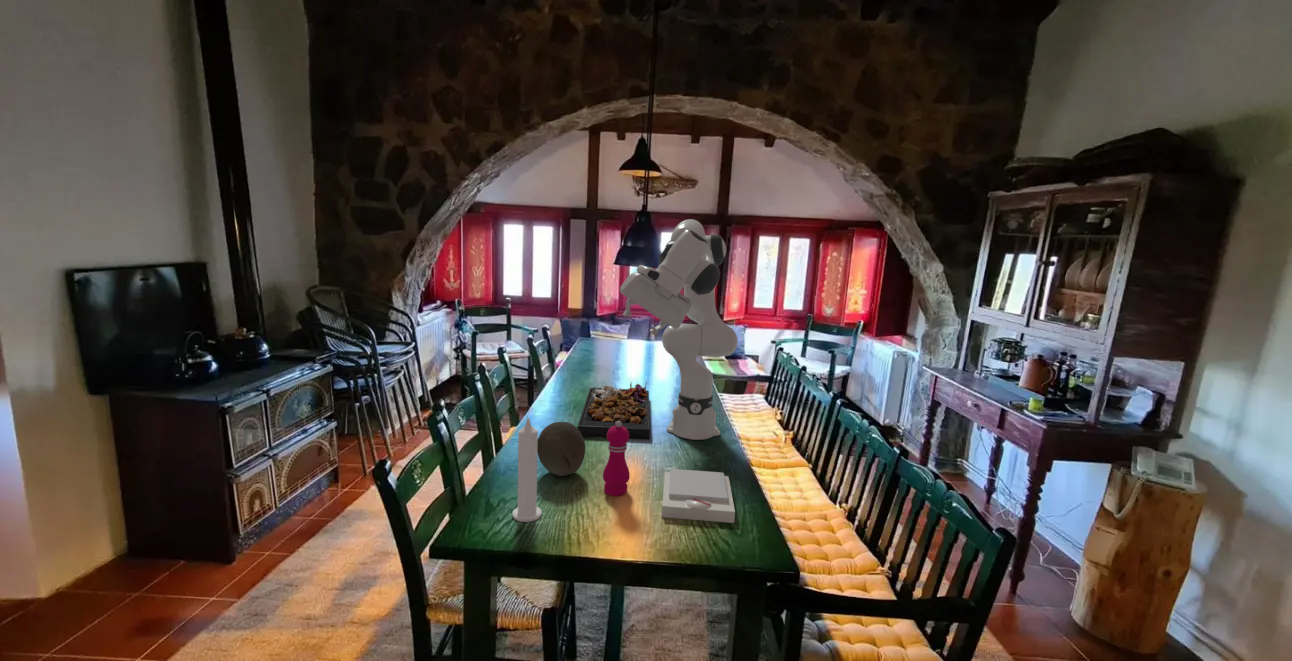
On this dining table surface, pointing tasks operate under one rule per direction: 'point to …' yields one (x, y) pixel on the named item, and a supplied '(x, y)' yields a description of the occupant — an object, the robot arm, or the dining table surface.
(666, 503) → the kitchen scale
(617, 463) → the pepper mill
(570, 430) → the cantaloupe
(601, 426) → the food platter
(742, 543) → the dining table surface
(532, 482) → the candle
